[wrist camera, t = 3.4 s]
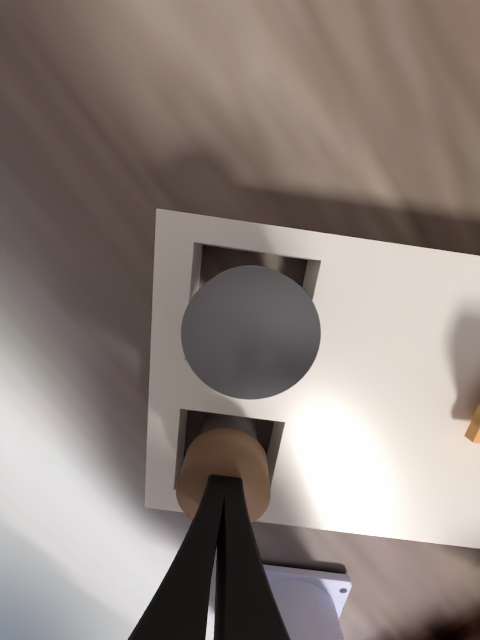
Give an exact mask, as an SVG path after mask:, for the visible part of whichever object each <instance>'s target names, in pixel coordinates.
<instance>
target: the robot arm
mask: <svg viewBox="0 0 480 640" xmlns="http://www.w3.org/2000/svg"><path fill="white" fill-rule="evenodd" d="M216 546H217V561H216V592H215V624H214V640H344V638H343V634H342V630H341V626H340V622H339V617H340V614H341V612H342V609H343V607H344V604H345V602H346V599H347V597H348V594H349V592H350V589H351V587H352V583H351V579H350V577H349V576H348V575H346V574H340V573H332V572H323V571H315V570H306V569H298V568H289V567H281V566H272V565H264V564H262V560H261V557H260V554H259V551H258V548H257V544H256V541H255V537H254V533H253V530H252V526H251V522H250V518H249V514H248V510H247V505H246V500H245V495H244V489H243V481H242V479H241V478H238V477H230V476H222V475H214V474H211V475H209V477H208V481H207V485H206V488H205V491H204V494H203V497H202V500H201V502H200V505H199V507H198V510H197V512H196V514H195V517H194V519H193V521H192V523H191V526H190V528H189V530H188V532H187V534H186V536H185V539H184V541H183V543H182V545H181V547H180V549H179V551H178V553H177V555H176V557H175V559H174V560H173V562H172V564H171V566H170V568H169V570H168V572H167V574H166V575H165V577H164V579H163V581H162V583H161V584H160V586H159V588H158V590H157V591H156V593H155V595H154V597H153V598H152V600H151V602H150V604H149V605H148V607H147V609H146V610H145V612H144V614H143V615H142V617H141V619H140V620H139V622H138V624H137V625H136V627H135V629H134V630H133V632H132V633H131V635H130V637H129V638H128V640H205V636H206V626H207V615H208V605H209V594H210V584H211V576H212V570H213V564H214V558H215V552H216Z"/></svg>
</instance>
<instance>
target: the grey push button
mask: <svg viewBox="0 0 480 640" xmlns="http://www.w3.org/2000/svg"><path fill="white" fill-rule="evenodd" d="M320 340H321V327H320V320H319V316H318V312H317V310H316V308H315V305H314V303H313V302H312V300H311V298H310V297H309V295H308V294H307V293H306V292H305V290H304V289H303V288H302V287H301V286H300V285H299V284H297V283H296V282H295V281H293V280H292V279H291V278H289V277H287V276H285V275H283V274H282V273H279V272H277V271H275V270H272V269H269V268H266V267H262V266H256V265H243V266H238V267H233V268H230V269H228V270H225V271H223V272H221V273H220V274H218V275H216V276H215V277H213V278H212V279H210V280H209V281H207V282H206V283H205V284H204V285H203V286H202V287H201V288H199V290H198V291H197V292H196V293H195V294H194V295H193V297H192V299H191V300H190V302H189V303H188V306H187V308H186V310H185V312H184V316H183V319H182V325H181V342H182V348H183V352H184V355H185V357H186V360H187V362H188V364H189V366H190V367H191V369H192V370H193V372H194V373H195V374H196V375H197V377H198V378H199V379H200V380H201V381H202V382H204V383H205V384H206V385H207V386H209V387H210V388H212V389H213V390H215V391H217V392H219V393H221V394H223V395H226V396H229V397H232V398H238V399H246V400H255V399H263V398H268V397H272V396H275V395H277V394H280V393H282V392H284V391H286V390H288V389H290V388H291V387H292V386H294V385H295V384H296V383H298V382H299V381H300V380H301V379H302V378H303V377H304V376H305V374H306V373H307V372H308V371H309V369H310V368H311V366H312V365H313V363H314V361H315V358H316V356H317V353H318V350H319V346H320Z"/></svg>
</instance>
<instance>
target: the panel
mask: <svg viewBox="0 0 480 640" xmlns="http://www.w3.org/2000/svg"><path fill="white" fill-rule="evenodd" d="M203 245H207V246H214V247H221V248H228V249H235V250H242V251H249V252H256V253H263V254H270V255H277V256H283V257H290V258H297V259H304V260H308V261H307V266H306V271H305V276H304V280H303V285H302V288H303V289H304V290H305V292H306V293H307V294H308V295H309V297H310V298H311V300H312V302H313V303H314V305H315V308H316V310H317V312H318V316H319V320H320V327H321V340H320V346H319V350H318V353H317V356H316V358H315V361H314V363H313V365H312V366H311V368H310V369H309V371H308V372H307V373H306V374H305V376H304V377H303V378H302V379H301V380H300V381H299V382H298V383H296V384H295V385H294V386H292V387H291V388H290V389H288V390H286V391H284V392H282V393H280V394H277V395H275V396H272V397H268V398H263V399H255V400H246V399H238V398H232V397H229V396H226V395H223V394H221V393H219V392H217V391H215V390H213V389H212V388H210V387H209V386H207V385H206V384H205V383H204V382H202V381H201V380H200V379H199V378H198V377H197V375H196V374H195V373H194V372H193V370H192V369H191V367H190V366H189V364H188V362H187V360H186V357H185V355H184V352H183V348H182V342H181V325H182V319H183V316H184V312H185V310H186V308H187V306H188V303H189V302H190V300H191V299H192V297H193V295H194V294H195V293H196V292H197V291H198V290H199V281H200V270H201V259H202V248H203ZM479 403H480V256H478V255H471V254H464V253H457V252H450V251H444V250H437V249H430V248H423V247H416V246H410V245H403V244H396V243H389V242H382V241H375V240H369V239H362V238H355V237H348V236H341V235H335V234H328V233H321V232H314V231H307V230H301V229H294V228H287V227H280V226H273V225H266V224H260V223H253V222H246V221H239V220H232V219H226V218H219V217H212V216H205V215H198V214H192V213H185V212H178V211H171V210H164V209H157V208H156V226H155V251H154V276H153V301H152V325H151V350H150V375H149V400H148V425H147V450H146V475H145V500H144V508H150V509H158V510H166V511H175V512H183V510H182V509H181V508H180V506H179V504H178V501H177V498H176V486H177V482H178V479H179V475H180V472H181V469H182V465H183V462H184V458H183V455H184V444H185V433H186V422H187V411H188V410H195V411H202V412H210V413H218V414H225V415H233V416H241V417H248V418H256V419H264V420H271V421H274V424H273V429H272V434H271V439H270V443H269V448H268V453H267V465H268V473H269V482H270V491H271V497H270V503H269V506H268V508H267V510H266V511H265V512H264V514H263V515H262V516H261V517H260V518H259V519H257V520H256V521H257V522H265V523H273V524H281V525H289V526H298V527H306V528H314V529H322V530H331V531H339V532H347V533H355V534H363V535H372V536H380V537H388V538H396V539H404V540H413V541H421V542H429V543H437V544H445V545H454V546H462V547H470V548H478V549H480V443H473V442H471V441H470V440H469V439H468V438H466V437H465V436H464V435H465V433H466V431H467V429H468V427H469V425H470V422H471V420H472V418H473V416H474V414H475V412H476V410H477V408H478V405H479ZM183 513H184V512H183Z"/></svg>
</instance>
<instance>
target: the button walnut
mask: <svg viewBox="0 0 480 640" xmlns="http://www.w3.org/2000/svg"><path fill="white" fill-rule="evenodd" d="M211 474H214V475H222V476H230V477H238V478H241V479H242V481H243V489H244V495H245V500H246V505H247V510H248V514H249V518H250V522H251V523H253V522H255V521H256V520H257V519H259V518H260V517H261V516H262V515H263V514H264V512H265V511H266V510H267V508H268V506H269V503H270V497H271V491H270V482H269V473H268V465H267V457H266V453H265V451H264V449H263V447H262V446H261V444H260V443H259V442H258V441H257V430H256V426H255V424H254V422H253V420H252V419H251V418H248V417H241V416H233V415H225V414H218V413H211V414H210V415H208V416H207V417H206V418H205V420H204V421H203V423H202V426H201V430H200V434H199V436H198V437H197V438H195V439H194V440H193V441H192V443H191V444H190V445H189V447H188V449H187V452H186V455H185V458H184V462H183V465H182V469H181V472H180V475H179V479H178V482H177V486H176V498H177V501H178V504H179V506H180V508H181V509H182V510H183V512H184V513H185V514H186V515H187V516H188V517H189V518H190V519H192V520H193V519H194V517H195V514H196V512H197V510H198V507H199V505H200V502H201V500H202V497H203V494H204V491H205V488H206V485H207V481H208V477H209V475H211Z"/></svg>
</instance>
